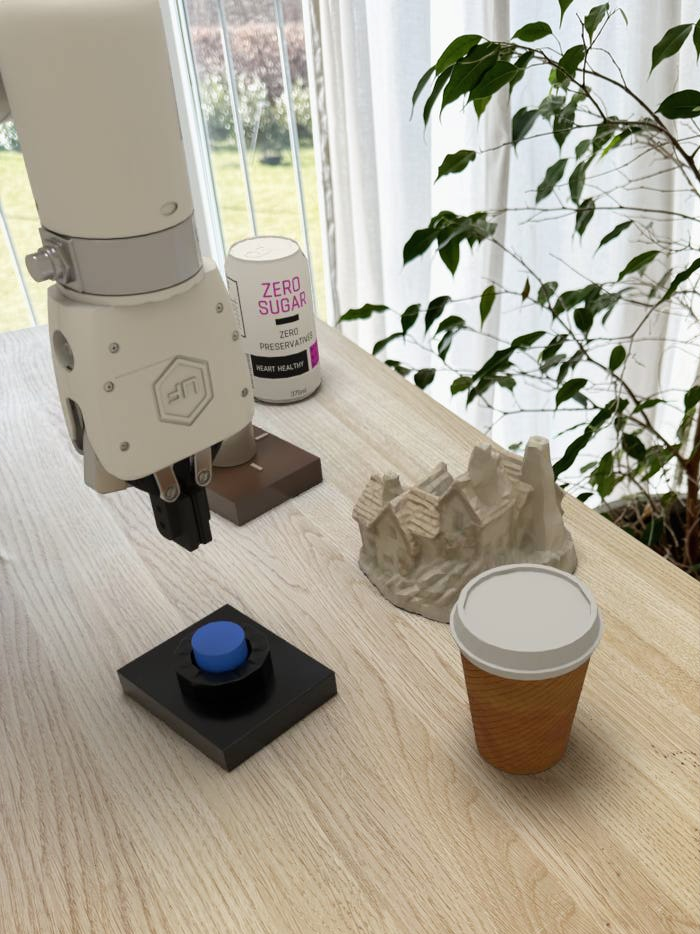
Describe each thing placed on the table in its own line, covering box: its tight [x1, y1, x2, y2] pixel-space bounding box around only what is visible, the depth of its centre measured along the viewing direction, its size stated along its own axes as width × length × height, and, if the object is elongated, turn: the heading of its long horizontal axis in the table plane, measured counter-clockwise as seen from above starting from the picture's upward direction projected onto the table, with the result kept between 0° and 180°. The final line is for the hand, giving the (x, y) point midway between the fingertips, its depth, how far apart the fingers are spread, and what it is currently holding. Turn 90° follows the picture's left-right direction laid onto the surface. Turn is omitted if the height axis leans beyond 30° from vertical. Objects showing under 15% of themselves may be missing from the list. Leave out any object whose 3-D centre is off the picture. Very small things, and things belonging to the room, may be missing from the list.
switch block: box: [116, 603, 338, 774], centre depth 71 cm, size 12×10×4 cm
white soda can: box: [223, 234, 322, 404], centre depth 103 cm, size 8×8×15 cm
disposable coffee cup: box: [449, 563, 605, 775], centre depth 65 cm, size 10×10×12 cm
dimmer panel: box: [205, 424, 324, 527], centre depth 94 cm, size 14×10×3 cm
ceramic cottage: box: [351, 435, 579, 624], centre depth 80 cm, size 16×16×15 cm
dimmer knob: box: [212, 419, 256, 467], centre depth 91 cm, size 5×5×5 cm
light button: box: [191, 621, 248, 673], centre depth 70 cm, size 4×4×2 cm
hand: (187, 538), depth 64 cm, fingers closed
